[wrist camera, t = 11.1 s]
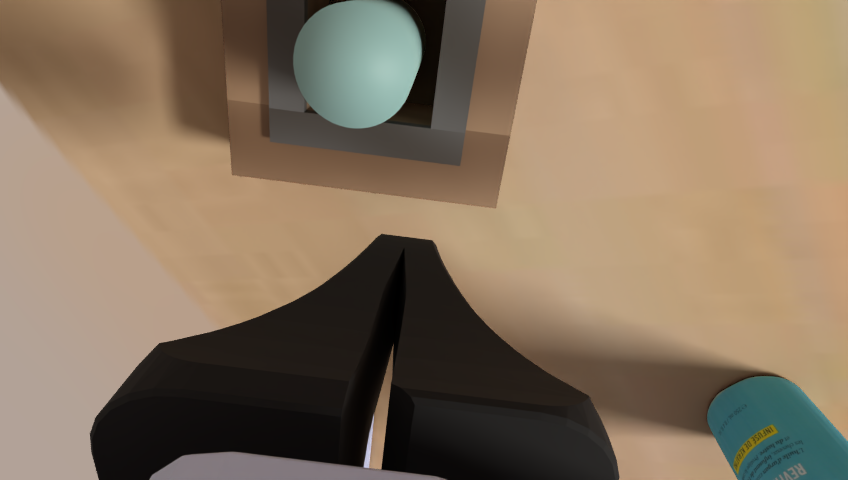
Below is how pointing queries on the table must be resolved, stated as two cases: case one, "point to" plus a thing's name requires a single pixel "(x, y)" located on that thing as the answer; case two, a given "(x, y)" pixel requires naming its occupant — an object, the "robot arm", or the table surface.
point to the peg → (359, 60)
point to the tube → (776, 433)
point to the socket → (396, 137)
